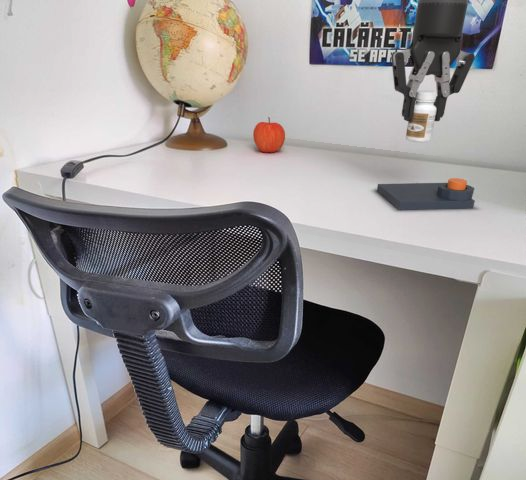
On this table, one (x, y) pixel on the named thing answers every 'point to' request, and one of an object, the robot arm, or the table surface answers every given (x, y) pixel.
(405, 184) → the grey button base
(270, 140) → the apple
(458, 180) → the button
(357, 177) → the table surface
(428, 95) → the pill bottle
